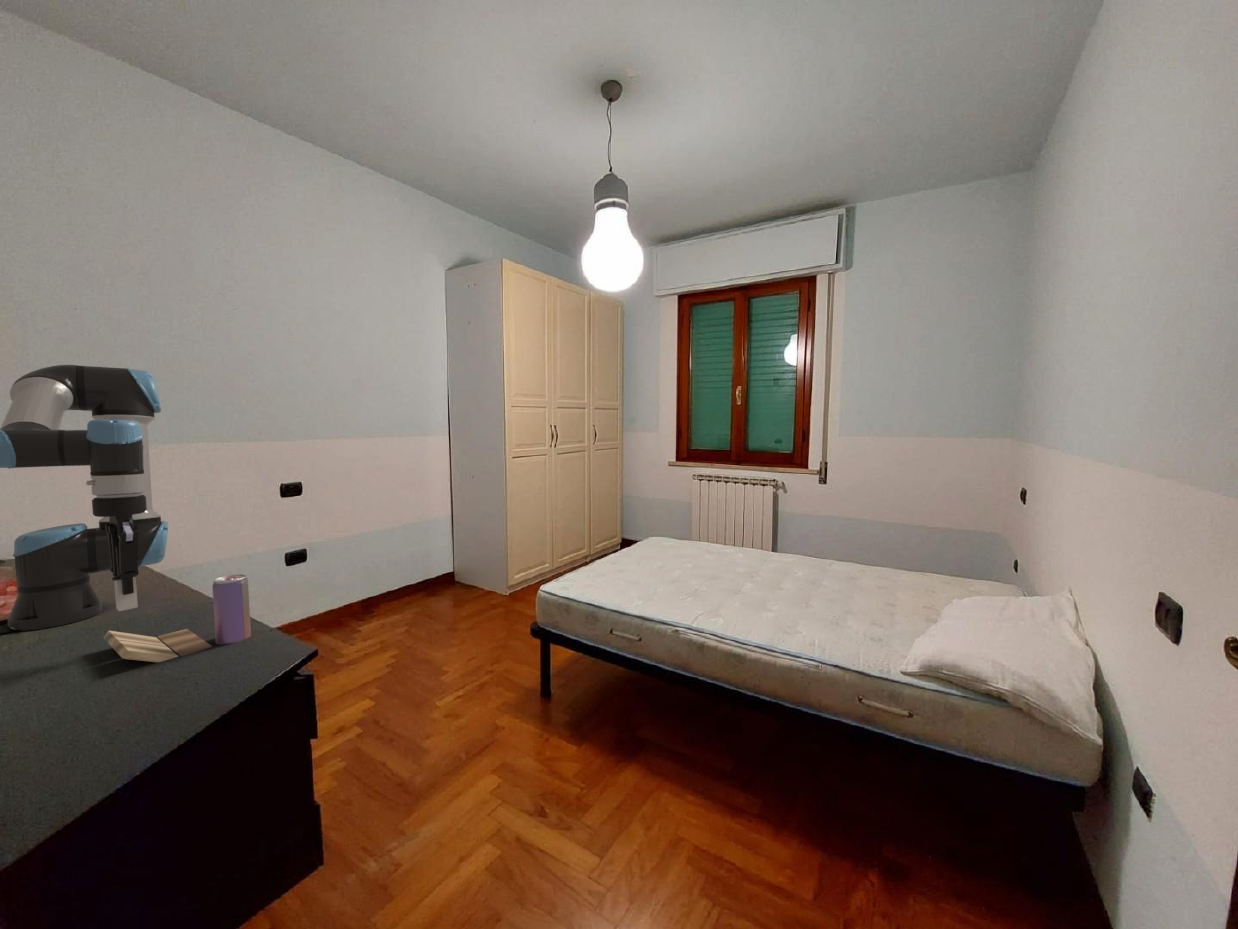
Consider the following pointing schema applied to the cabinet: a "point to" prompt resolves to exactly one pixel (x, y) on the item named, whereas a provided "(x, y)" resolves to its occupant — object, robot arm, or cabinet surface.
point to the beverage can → (231, 609)
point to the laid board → (184, 642)
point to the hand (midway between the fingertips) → (127, 608)
